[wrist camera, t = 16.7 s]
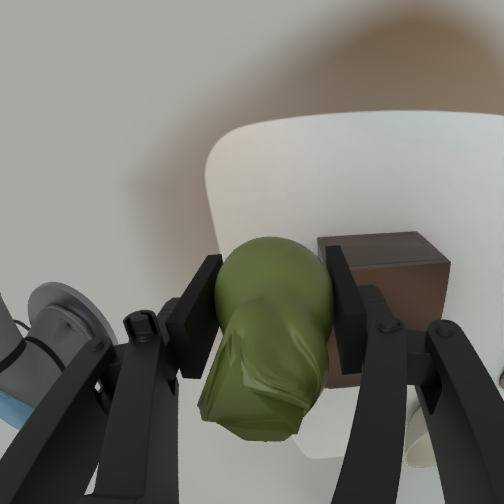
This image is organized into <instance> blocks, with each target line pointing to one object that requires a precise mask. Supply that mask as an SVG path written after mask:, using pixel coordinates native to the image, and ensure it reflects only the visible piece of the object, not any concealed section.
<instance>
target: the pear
mask: <svg viewBox="0 0 504 504" xmlns="http://www.w3.org/2000/svg"><path fill="white" fill-rule="evenodd" d="M214 302H215V309H216V314H217V318H218V322H219V325H220V328H221V331H222V333H223V338H222V341H221V343H220V346H219V349H218V351H217V353H216V356H215V359H214V362H213V365H212V367H211V369H210V373H209V375H208V377H207V380H206V383H205V386H204V388H203V391H202V393H201V396H200V399H199V401H198V404H197V406H198V407H199V409H200V414H201V418H202V420H204V421H210V422H217V424H220V425H221V426H223V427H225V428H226V429H227V430H229V431H231V432H232V433H234V434H235V435H237V436H239V437H240V438H242V439H244V440H247V441H264V442H267V441H284V440H286V439H287V438H288V437H290V436H291V435H292V434H295V435H296V434H298V431H299V428H300V425H301V422H302V420H303V417H305V415H306V414H307V413H308V412H309V411H310V409H311V408H312V407H313V405H314V404H315V403H316V401H317V399H318V398H319V396H320V395H321V393H322V391H323V389H324V387H325V384H326V382H327V378H328V373H329V355H328V349H327V344H328V341H329V338H330V335H331V331H332V326H333V320H334V308H335V297H334V288H333V284H332V280H331V277H330V275H329V273H328V271H327V269H326V267H325V266H324V264H323V263H322V261H321V260H320V259H319V258H318V257H317V256H316V255H315V254H314V253H313V252H312V251H310V250H309V249H308V248H306V247H304V246H303V245H301V244H299V243H297V242H295V241H292V240H289V239H285V238H280V237H261V238H256V239H253V240H250V241H248V242H246V243H244V244H242V245H240V246H239V247H238V248H236V249H235V250H234V251H233V252H232V253H231V254H230V255H229V256H228V258H227V259H226V260H225V262H224V263H223V265H222V267H221V269H220V271H219V273H218V276H217V279H216V283H215V290H214Z"/></svg>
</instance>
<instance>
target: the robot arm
mask: <svg viewBox="0 0 504 504" xmlns="http://www.w3.org/2000/svg"><path fill="white" fill-rule="evenodd" d="M325 250H326V269H327V271H328V273H329V275H330V277H331V280H332V284H333V288H334V297H335V308H334V320H333V326H334V332H335V337H336V343H337V348H338V354H339V360H340V366H341V372H342V375H347V374H357V373H362V365H363V366H364V367H363V373H362V379H361V384H360V390H359V395H358V400H357V405H356V410H355V415H354V420H353V424H352V429H351V433H350V437H349V441H348V445H347V449H346V453H345V457H344V461H343V465H342V468H341V472H340V476H339V479H338V482H337V485H336V489H335V492H334V495H333V498H332V502H331V504H396V498H397V492H398V486H399V479H400V472H401V463H402V456H403V446H404V435H405V421H406V401H407V385H415V389H416V392H417V396H418V399H419V402H420V405H421V408H422V412H423V415H424V418H425V422H426V425H427V429H428V432H429V436H430V439H431V443H432V447H433V451H434V455H435V459H436V463H437V467H438V471H439V475H440V480H441V485H442V489H443V494H444V500H445V504H504V401H503V399H502V397H501V395H500V393H499V391H498V389H497V388H496V386H495V384H494V382H493V380H492V378H491V377H490V375H489V373H488V371H487V370H486V368H485V366H484V365H483V363H482V361H481V359H480V358H479V356H478V354H477V353H476V351H475V350H474V348H473V346H472V345H471V343H470V341H469V340H468V338H467V337H466V335H465V334H464V332H463V331H462V329H461V328H460V327H459V325H458V324H456V323H454V322H452V321H450V320H436V321H433V322H431V323H430V324H429V325H428V328H427V331H419V330H410V329H407V328H406V326H405V323H404V322H403V321H402V320H401V319H398V318H396V317H394V316H393V314H392V312H391V310H390V308H389V306H388V304H387V302H386V300H385V298H384V297H383V294H382V292H381V290H380V289H379V288H377V287H376V286H374V285H373V284H371V285H360V286H357V285H356V283H355V280H354V278H353V276H352V273H351V271H350V268H349V266H348V263H347V261H346V259H345V256H344V254H343V252H342V249H341V247H340V245H334V246H325ZM222 265H223V260H222V254H218V255H208V256H207V257H206V259H205V260H204V262H203V264H202V265H201V267H200V268H199V270H198V271H197V273H196V274H195V276H194V278H193V279H192V281H191V282H190V284H189V285H188V287H187V288H186V290H185V291H184V293H183V295H182V296H181V297H179V298H172V299H171V300H169V301H168V302H166V303H165V305H164V306H163V308H162V309H161V311H160V312H159V313H158V315H157V316H156V315H155V313H154V312H153V311H151V310H140V311H136V312H133V313H131V314H129V315H128V316H126V317H125V319H124V320H123V323H124V326H125V328H126V331H127V334H128V337H129V342H128V343H126V344H119V345H113V343H112V341H111V339H110V338H109V337H107V336H97V337H94V336H93V334H92V332H91V331H90V329H89V328H88V327H87V325H86V324H85V323H84V322H83V321H82V320H81V319H80V318H79V317H78V316H77V315H76V314H75V313H73V312H72V311H70V310H69V309H67V308H65V307H63V306H60V305H57V304H50V305H47V306H45V307H44V308H43V309H42V310H41V311H40V312H39V313H38V314H37V316H36V318H35V320H34V322H33V324H32V326H31V328H29V327H28V326H26V325H25V324H24V323H22V322H20V321H18V320H13V319H12V317H11V315H10V313H9V311H8V309H7V307H6V305H5V304H4V301H3V299H2V297H1V295H0V418H1V419H3V420H4V421H5V422H7V423H8V424H10V425H11V426H13V427H14V428H16V429H18V430H20V431H19V432H18V434H17V435H16V437H15V438H14V440H13V441H12V443H11V444H10V446H9V447H8V449H7V450H6V452H5V453H4V455H3V456H2V458H1V460H0V504H179V489H178V394H179V383H178V380H177V377H176V374H177V372H178V370H179V368H180V371H181V374H182V377H183V378H189V379H191V378H192V379H201V377H202V374H203V371H204V368H205V365H206V362H207V360H208V357H209V354H210V351H211V349H212V346H213V343H214V340H215V337H216V334H217V332H218V329H219V326H220V325H219V322H218V318H217V314H216V309H215V302H214V290H215V283H216V279H217V276H218V273H219V271H220V269H221V267H222ZM0 294H1V293H0ZM15 323H17V324H19V325H21V326H22V327H24V328H25V329H26V330H28V331H29V332H28V334H27V336H26V337H25V338H23V337H22V335H21V333H20V331H19V330H18V328H17V326H16V324H15ZM97 382H98V383H99V385H100V387H101V388H100V389H99V391H97V390H96V389H95V385H96V383H97ZM98 463H99V466H98V471H97V477H96V483H95V489H94V492H93V493H92V494H88V495H84V494H85V491H86V489H87V486H88V485H89V482H90V480H91V478H92V476H93V474H94V472H95V469H96V467H97V465H98Z"/></svg>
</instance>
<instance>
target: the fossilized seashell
mask: <svg viewBox="0 0 504 504" xmlns="http://www.w3.org/2000/svg"><path fill="white" fill-rule="evenodd" d="M500 386H501V387H502V388H504V373H503V375H502V377H501V379H500Z"/></svg>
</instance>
